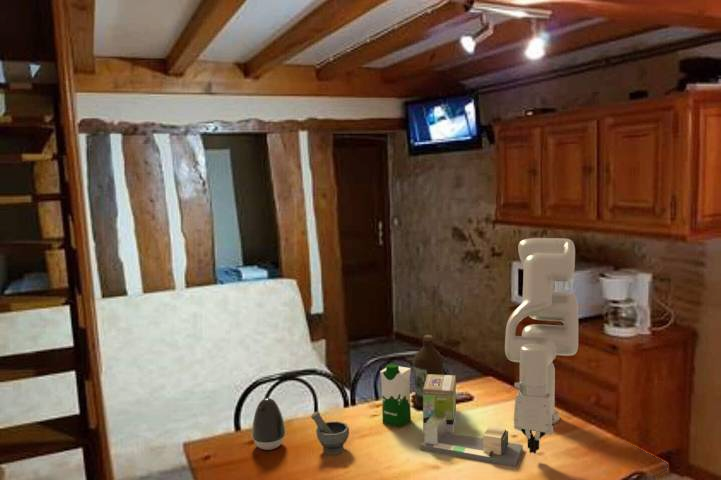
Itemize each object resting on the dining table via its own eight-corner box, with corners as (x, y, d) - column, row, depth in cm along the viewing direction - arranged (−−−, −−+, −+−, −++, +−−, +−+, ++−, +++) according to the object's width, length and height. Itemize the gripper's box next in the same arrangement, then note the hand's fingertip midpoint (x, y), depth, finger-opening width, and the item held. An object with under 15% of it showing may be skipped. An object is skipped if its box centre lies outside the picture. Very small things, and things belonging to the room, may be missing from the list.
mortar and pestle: (350, 442, 183) (348, 404, 182) (349, 456, 174) (347, 417, 173) (313, 443, 184) (312, 406, 182) (311, 457, 174) (309, 418, 173)
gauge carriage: (489, 441, 177) (488, 425, 176) (508, 445, 174) (508, 428, 174) (481, 455, 168) (481, 439, 168) (501, 459, 166) (501, 442, 165)
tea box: (454, 435, 186) (453, 390, 184) (422, 433, 188) (421, 388, 186) (456, 416, 200) (455, 374, 199) (426, 414, 202) (426, 372, 201)
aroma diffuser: (246, 451, 179) (243, 403, 178) (263, 436, 189) (260, 391, 187) (275, 456, 176) (273, 407, 174) (291, 441, 186) (289, 394, 184)
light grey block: (434, 431, 185) (433, 413, 185) (446, 433, 184) (446, 415, 183) (424, 443, 177) (424, 424, 177) (437, 446, 176) (437, 426, 175)
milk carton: (378, 424, 196) (377, 365, 194) (392, 414, 204) (390, 357, 201) (402, 429, 191) (400, 369, 189) (414, 419, 199) (413, 361, 197)
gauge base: (432, 434, 187) (432, 429, 187) (522, 449, 175) (522, 444, 175) (420, 449, 177) (420, 444, 177) (515, 466, 165) (515, 461, 165)
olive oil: (430, 396, 219) (428, 330, 216) (450, 404, 210) (449, 336, 207) (408, 403, 213) (406, 335, 210) (427, 412, 204) (426, 342, 201)
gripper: (503, 389, 166) (504, 452, 168) (559, 396, 159) (559, 461, 161) (509, 381, 172) (509, 441, 174) (563, 387, 166) (562, 450, 168)
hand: (533, 451), depth 168 cm, fingers closed
